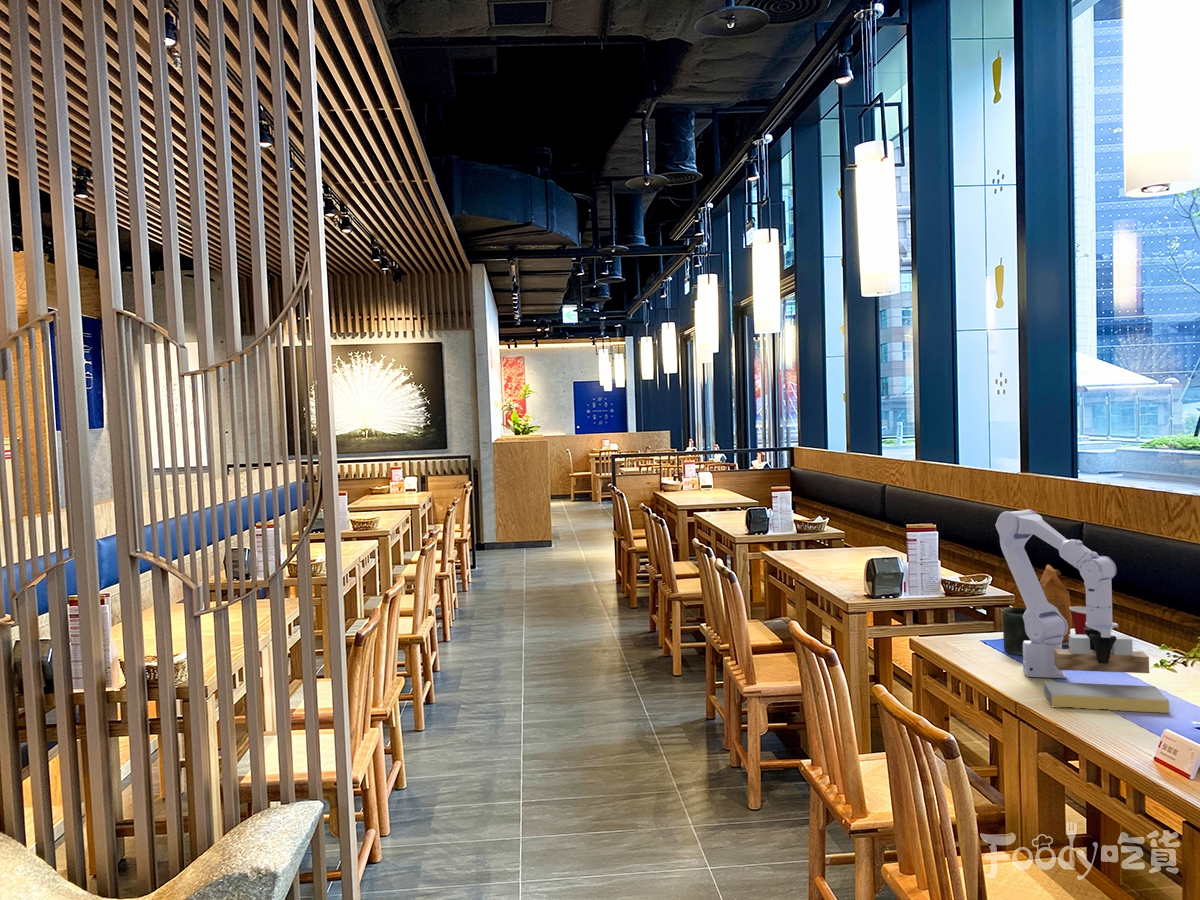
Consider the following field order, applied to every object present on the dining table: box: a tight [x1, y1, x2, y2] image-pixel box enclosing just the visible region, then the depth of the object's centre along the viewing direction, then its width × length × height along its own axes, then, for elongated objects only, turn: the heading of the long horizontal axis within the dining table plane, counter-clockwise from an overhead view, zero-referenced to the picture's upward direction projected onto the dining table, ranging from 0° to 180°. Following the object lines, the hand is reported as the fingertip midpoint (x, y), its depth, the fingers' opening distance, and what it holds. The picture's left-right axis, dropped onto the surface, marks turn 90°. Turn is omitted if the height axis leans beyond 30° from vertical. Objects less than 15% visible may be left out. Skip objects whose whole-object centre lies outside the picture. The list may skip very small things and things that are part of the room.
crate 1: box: [1068, 633, 1090, 654], centre depth 227 cm, size 4×4×4 cm
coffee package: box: [1039, 564, 1073, 641], centre depth 279 cm, size 10×12×22 cm
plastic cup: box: [1069, 605, 1091, 650], centre depth 263 cm, size 11×11×12 cm
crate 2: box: [1111, 634, 1134, 656], centre depth 224 cm, size 4×4×4 cm
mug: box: [1000, 606, 1041, 656], centre depth 265 cm, size 11×15×12 cm
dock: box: [1043, 681, 1170, 714], centre depth 214 cm, size 24×11×3 cm, turn 72°
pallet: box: [1054, 648, 1150, 674], centre depth 226 cm, size 20×6×4 cm, turn 72°
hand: (1100, 660), depth 226 cm, fingers closed on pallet, 6 cm apart
